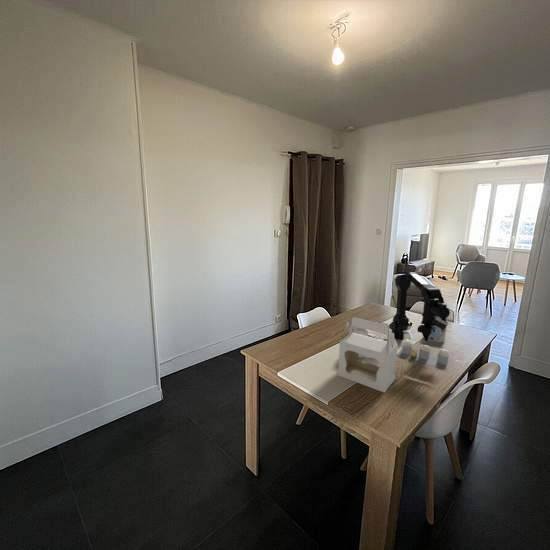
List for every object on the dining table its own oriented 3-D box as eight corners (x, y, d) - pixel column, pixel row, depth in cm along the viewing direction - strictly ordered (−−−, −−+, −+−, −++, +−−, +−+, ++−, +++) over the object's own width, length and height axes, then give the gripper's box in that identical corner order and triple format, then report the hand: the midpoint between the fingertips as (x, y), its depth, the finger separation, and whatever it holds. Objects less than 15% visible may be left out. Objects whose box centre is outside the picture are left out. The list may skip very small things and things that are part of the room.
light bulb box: (424, 339, 178) (426, 323, 176) (423, 335, 184) (425, 319, 182) (444, 342, 174) (447, 325, 172) (443, 338, 180) (445, 321, 178)
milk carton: (366, 353, 161) (369, 319, 157) (366, 358, 154) (368, 324, 150) (353, 351, 163) (355, 318, 159) (352, 356, 156) (354, 322, 152)
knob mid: (418, 356, 153) (419, 346, 152) (420, 353, 157) (421, 343, 156) (427, 359, 151) (429, 349, 150) (429, 356, 154) (430, 346, 153)
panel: (396, 357, 156) (397, 348, 155) (402, 348, 166) (403, 340, 165) (448, 371, 142) (449, 362, 141) (451, 361, 152) (453, 352, 151)
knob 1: (401, 352, 158) (402, 342, 157) (403, 349, 162) (404, 339, 161) (410, 354, 156) (411, 344, 155) (412, 351, 159) (413, 341, 158)
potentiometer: (409, 358, 153) (410, 350, 152) (411, 356, 155) (411, 348, 154) (415, 359, 151) (416, 352, 150) (417, 357, 153) (418, 350, 153)
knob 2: (436, 361, 148) (438, 351, 147) (438, 358, 152) (439, 348, 150) (446, 364, 146) (448, 353, 144) (448, 361, 149) (449, 350, 148)
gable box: (395, 380, 135) (400, 322, 129) (385, 393, 124) (391, 331, 119) (349, 364, 148) (352, 311, 143) (337, 375, 138) (340, 318, 132)
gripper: (444, 320, 137) (440, 351, 140) (450, 310, 151) (446, 339, 154) (418, 315, 143) (415, 345, 146) (426, 306, 158) (423, 334, 161)
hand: (426, 341), depth 152 cm, fingers closed
